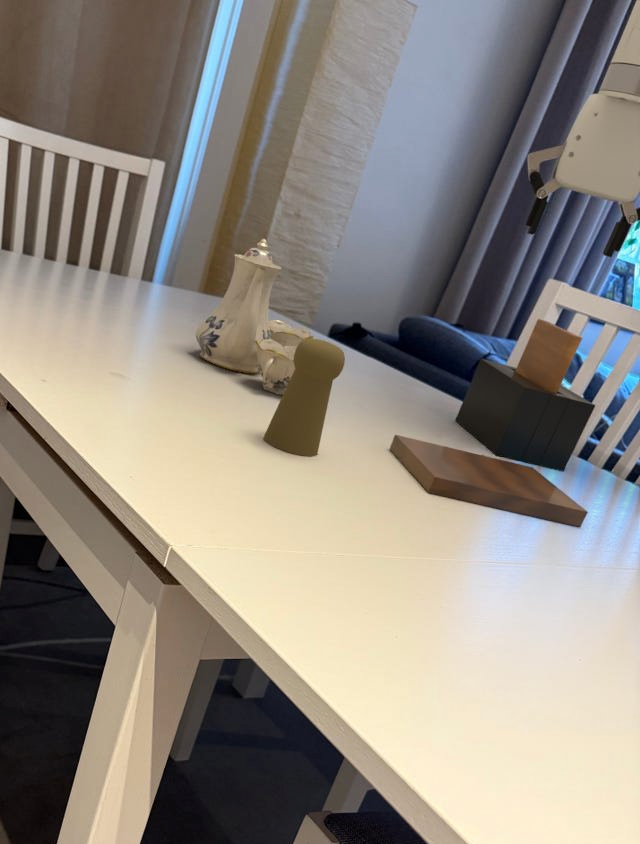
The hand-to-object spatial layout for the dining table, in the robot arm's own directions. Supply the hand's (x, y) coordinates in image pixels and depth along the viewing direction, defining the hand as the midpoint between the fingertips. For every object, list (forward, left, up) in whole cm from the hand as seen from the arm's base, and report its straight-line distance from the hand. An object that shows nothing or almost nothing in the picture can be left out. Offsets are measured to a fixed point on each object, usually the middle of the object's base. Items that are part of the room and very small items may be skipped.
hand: (568, 244), depth 116 cm
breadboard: (+11, +25, -25) cm, 37 cm away
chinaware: (+33, -7, -26) cm, 42 cm away
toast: (-3, +1, -23) cm, 24 cm away
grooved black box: (-3, +1, -25) cm, 26 cm away
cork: (+34, +26, -26) cm, 50 cm away
